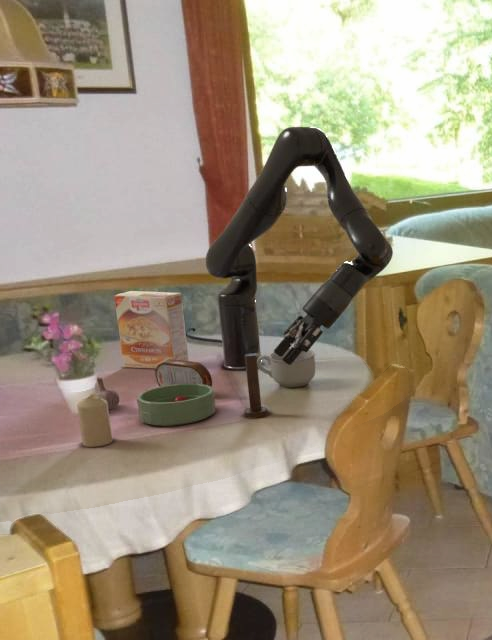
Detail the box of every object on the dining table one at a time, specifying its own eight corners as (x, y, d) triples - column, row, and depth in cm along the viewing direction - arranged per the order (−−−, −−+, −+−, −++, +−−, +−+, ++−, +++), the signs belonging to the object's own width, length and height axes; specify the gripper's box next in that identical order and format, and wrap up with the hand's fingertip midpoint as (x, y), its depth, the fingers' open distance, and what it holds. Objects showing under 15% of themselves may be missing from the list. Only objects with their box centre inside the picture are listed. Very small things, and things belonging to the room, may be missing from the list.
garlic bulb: (104, 416, 229) (100, 382, 227) (78, 413, 231) (73, 379, 229) (129, 406, 236) (125, 373, 234) (103, 404, 238) (98, 371, 236)
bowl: (129, 416, 229) (126, 393, 228) (198, 402, 240) (195, 379, 238) (156, 432, 218) (153, 407, 217) (227, 416, 229) (225, 392, 228)
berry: (176, 406, 234) (180, 395, 234) (187, 410, 234) (191, 398, 234) (169, 406, 231) (173, 394, 232) (180, 409, 231) (184, 398, 231)
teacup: (324, 379, 259) (321, 348, 257) (306, 391, 249) (303, 359, 247) (271, 377, 260) (268, 347, 258) (251, 389, 250) (248, 357, 248)
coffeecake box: (122, 367, 270) (112, 295, 265) (139, 360, 276) (130, 290, 271) (174, 370, 267) (165, 297, 262) (190, 363, 274) (181, 291, 269)
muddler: (240, 415, 230) (234, 355, 227) (260, 410, 234) (255, 351, 230) (252, 419, 227) (245, 358, 223) (272, 414, 231) (266, 354, 227)
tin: (214, 396, 244) (211, 362, 242) (205, 399, 242) (201, 365, 239) (165, 390, 249) (160, 356, 247) (155, 393, 246) (150, 360, 244)
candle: (89, 438, 214) (83, 393, 212) (116, 438, 215) (110, 392, 212) (78, 447, 209) (71, 401, 206) (106, 446, 209) (99, 400, 207)
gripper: (307, 288, 237) (261, 342, 234) (323, 298, 226) (275, 355, 223) (332, 308, 241) (287, 361, 238) (349, 319, 230) (301, 375, 227)
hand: (281, 358), depth 231 cm, fingers open, 8 cm apart
